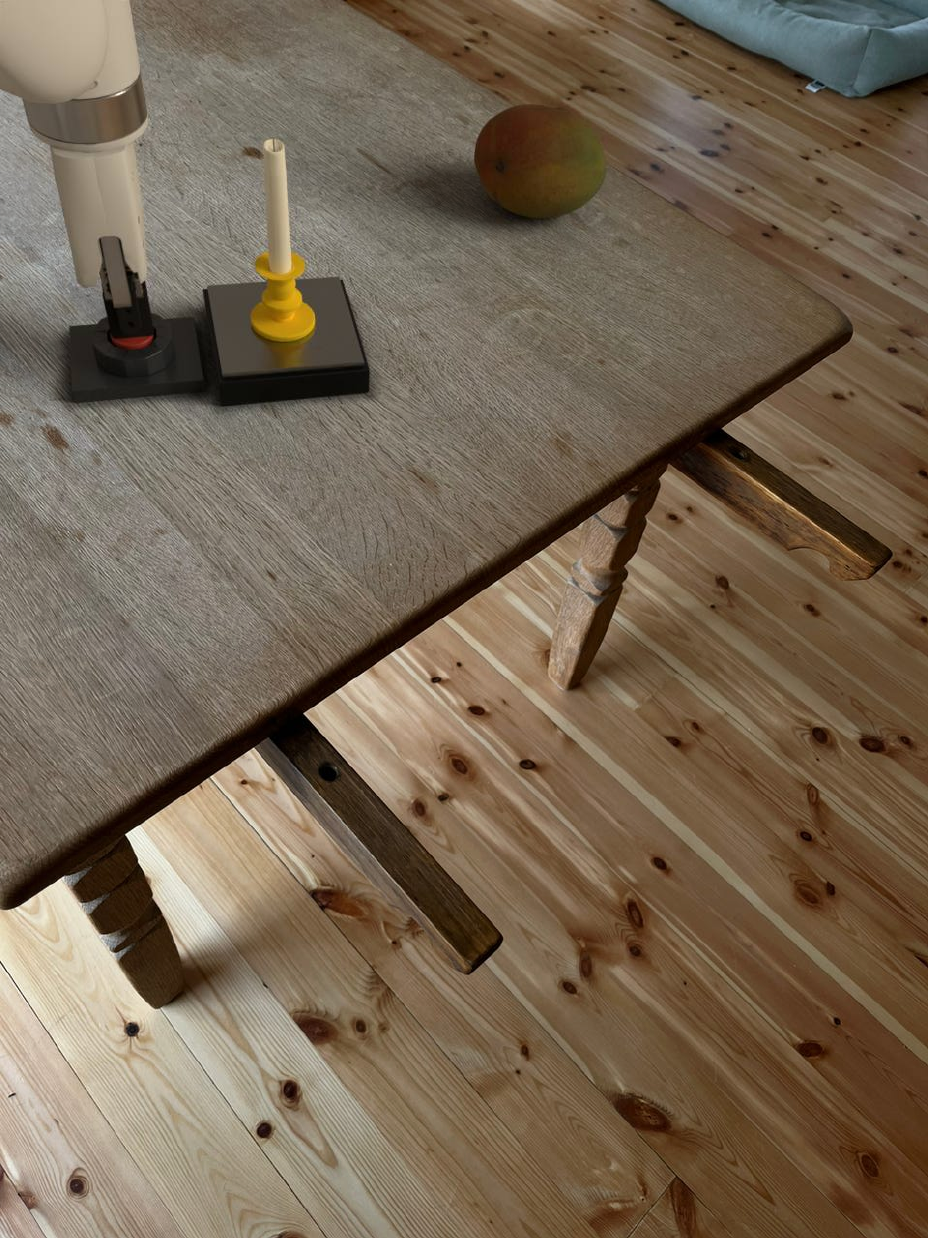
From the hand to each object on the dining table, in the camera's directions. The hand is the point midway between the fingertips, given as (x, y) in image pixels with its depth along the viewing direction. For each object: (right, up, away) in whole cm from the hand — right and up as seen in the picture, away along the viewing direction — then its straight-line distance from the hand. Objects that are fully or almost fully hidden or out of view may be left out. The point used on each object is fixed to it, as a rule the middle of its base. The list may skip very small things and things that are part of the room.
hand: (132, 330), depth 80 cm
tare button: (0, -1, +1) cm, 2 cm away
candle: (+11, +1, +3) cm, 12 cm away
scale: (+11, 0, +5) cm, 12 cm away
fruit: (+33, +19, +22) cm, 44 cm away
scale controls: (0, -2, +2) cm, 3 cm away
